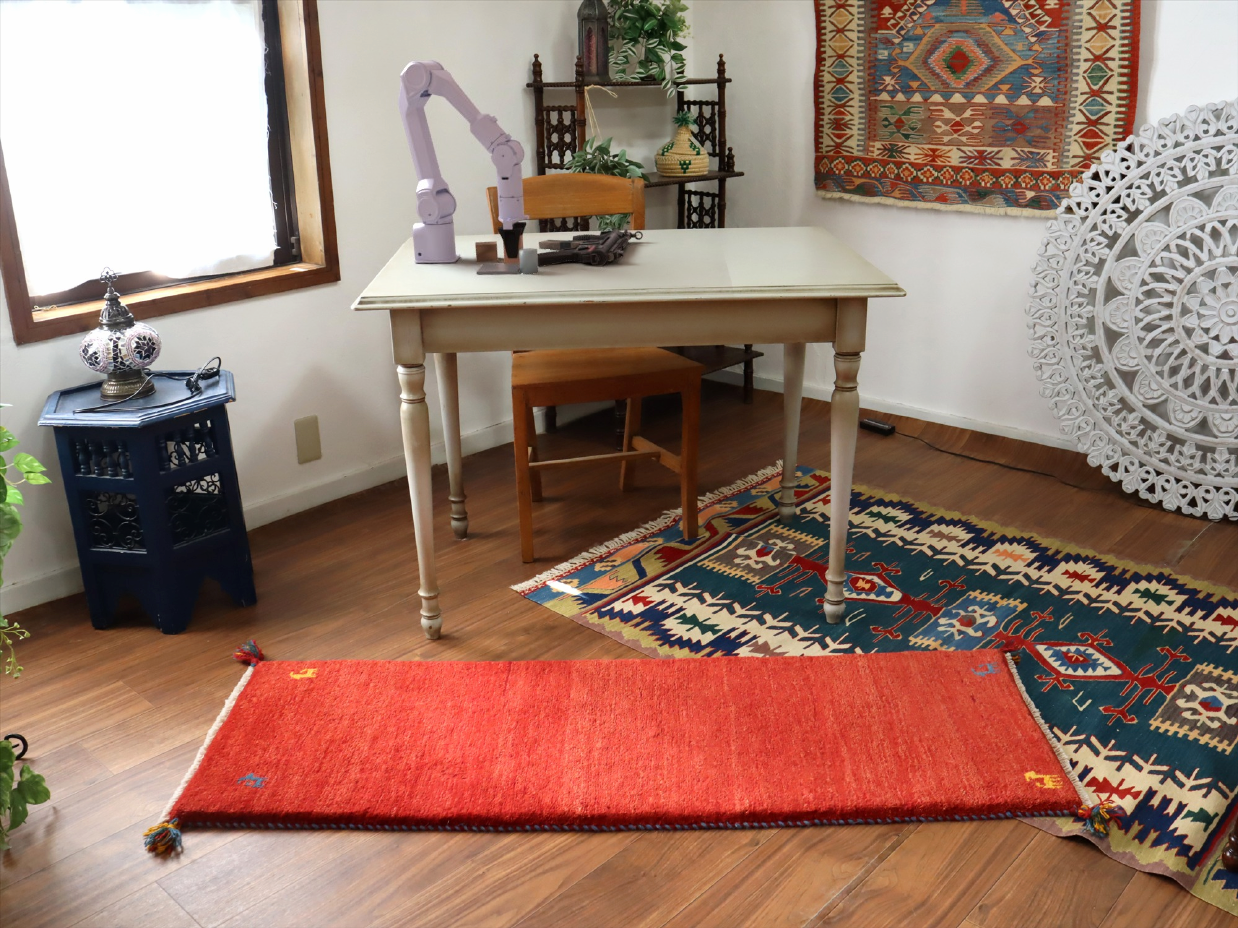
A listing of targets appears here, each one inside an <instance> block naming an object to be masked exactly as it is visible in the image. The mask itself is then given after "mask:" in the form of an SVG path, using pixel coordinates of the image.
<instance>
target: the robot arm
mask: <svg viewBox="0 0 1238 928" xmlns="http://www.w3.org/2000/svg"><path fill="white" fill-rule="evenodd" d="M399 78H400V89H399V94H398V98H397V99H398V100H397V105H398V110H399V113H400V116H401V121H402V123H403V127H404V131H405V135H406V138H407V144H408V146H409V151H410V154H411V158H412V161H413V162H412V163H413V165H414V170H415V173H416V176H417V181H418V184H417V186H416V191H415V196H416V200H417V201H416V205H415V209H416V214H417V215H418V217H419V218H420V220H421V222H415V223H414V224H413V226H412V241H413V250H414V263H415V264H423V263H425V264H426V263H430V264H431V263H434V264H435V263H436V264H437V263H456V261H457V260H459V258H460V257H461V254H460V253H459V254H458V253H457V252H456V251H457V250H456V238H455V237H456V236H455V225H454V224H455V223H454V218H453V215H454V214H455V212H456V211H457V207H458V206H457V205H458V204H457V200H456V197H455V196H454V194H453V193H452V192H451V190H450V187H449V184H448V182H446V180H444V178H443V177H442V174H441V170H440V165H439V162H438V159H437V155H436V150H435V146H434V143H433V138H432V135H431V131H430V127H429V123H428V120H427V115H426V112H425V106H426V104H427V103H428V101H429V100H430V98H431V96H432V95H433V96H438V97H442V98H445V100H446V101H447V102H448V103H449V104H450V105H451V106H452V107H453V108H454V109H455V110H456V111H457V112H458V113H459V114H460V115H461V116H462V117H463V118H464V119H465V120H466V121H467V122H468V123H469V130H470V134H472V135H473V137H474V138H475V139H476V140H477V141H478V142H479V144H481V145H482V146H483V148H484V149H485V150H486V151H487V152H488V153H489V154H491V155H490V159H491V162H492V164H493V165H494V166H495V170H496V186H497V205H498V218H497V219H498V221H499V222H501V223H502V224H501V226H498V227H497V232H498V233H499V236H500V237H501V239H502V243H503V242H504V246H505V250H506V253H507V257H508V258H517V256H518V249H519V239H520V235H523V236H524V232H525V229H526V226H527V222H526V221H524V220H530V214H529V215H528V214H525V207H524V205H525V204H524V190H523V188H524V185H523V173H522V171H523V170H522V162H523V161H524V159H525V150H524V147H523V146H522V144H521V142H520V141H519V140H516V139H513V137H512V135H511V134H510V133H506V132H505V130H504V129H503V128H502V127H501V126H500V125H499V124H498V118H497V117H496V116H495V115H493V116H491V114H489V113H481V111H480V110H479V109H478V108H477V107H476V105H475V104H474V102H472V100H471V99H470V98H469V96H468V95H467V94H466V93H465V91H464V90H463V89H462V88H461V86H459V84H458V83H457V81H456V80H455V79H454V77H453V76H452V74H451V73H450V72H449V71H448V70H447V69H445V67H444V66H443V65H442V64H441V63H440V62H439V61H436V60H427V61H426V60H425V61H423V60H422V61H418V60H414V61H410V62H409V63H408V64H407V65H406V66H405V67H404V69H403V70H402V72H401V73H400V75H399Z"/></svg>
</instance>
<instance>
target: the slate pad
mask: <svg viewBox="0 0 1238 928" xmlns="http://www.w3.org/2000/svg"><path fill="white" fill-rule="evenodd" d="M518 273H520V263H513V264H504V263H483V264H481V266H480V267H479V268H478V269H477V270H476V275H517V274H518Z"/></svg>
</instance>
